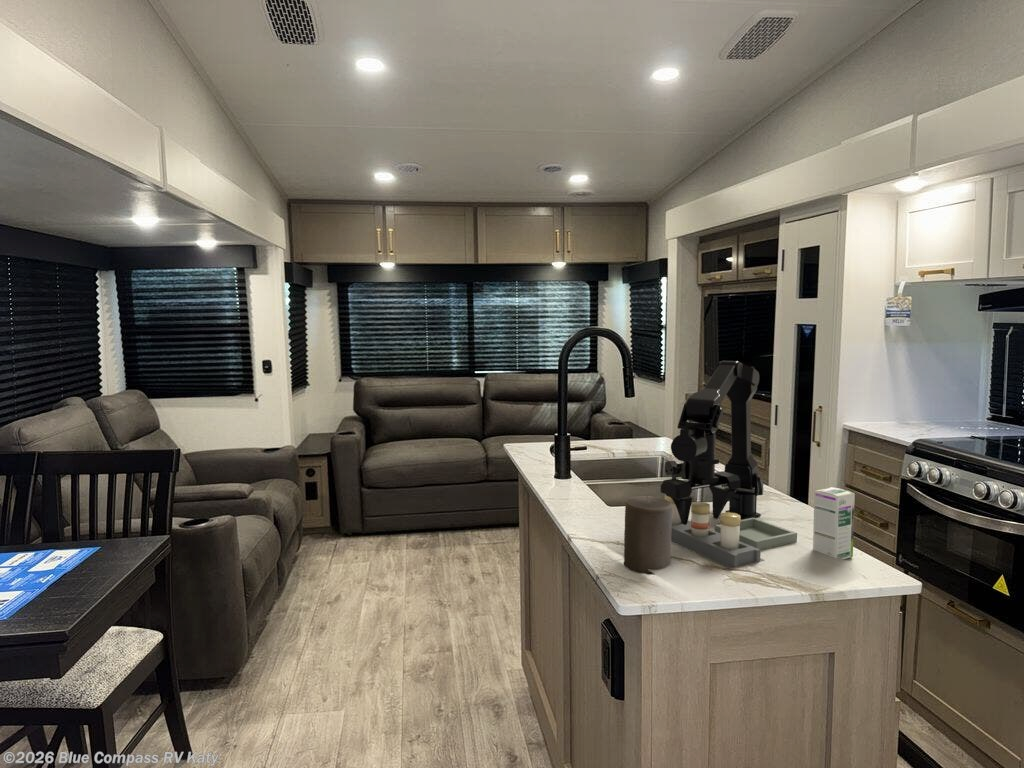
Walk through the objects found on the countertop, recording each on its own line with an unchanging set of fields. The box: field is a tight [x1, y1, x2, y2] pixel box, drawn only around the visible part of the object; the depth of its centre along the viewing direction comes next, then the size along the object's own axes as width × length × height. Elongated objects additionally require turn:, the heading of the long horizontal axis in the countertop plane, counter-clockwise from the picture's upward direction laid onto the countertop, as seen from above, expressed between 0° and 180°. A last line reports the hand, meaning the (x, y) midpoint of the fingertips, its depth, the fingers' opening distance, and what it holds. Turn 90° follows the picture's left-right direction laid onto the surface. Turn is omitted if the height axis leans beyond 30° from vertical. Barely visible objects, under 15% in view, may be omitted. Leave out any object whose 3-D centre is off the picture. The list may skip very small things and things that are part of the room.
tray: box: [714, 517, 798, 551], centre depth 145 cm, size 13×13×3 cm
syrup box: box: [812, 486, 856, 560], centre depth 135 cm, size 6×6×14 cm
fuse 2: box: [719, 512, 741, 551], centre depth 133 cm, size 4×4×9 cm
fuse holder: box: [671, 519, 765, 570], centre depth 142 cm, size 28×10×4 cm, turn 26°
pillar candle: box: [623, 495, 673, 575], centre depth 131 cm, size 10×10×15 cm
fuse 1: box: [664, 494, 681, 526], centre depth 149 cm, size 4×4×9 cm
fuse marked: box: [690, 501, 711, 538], centre depth 141 cm, size 4×4×9 cm
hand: (700, 521), depth 141 cm, fingers open, 9 cm apart
